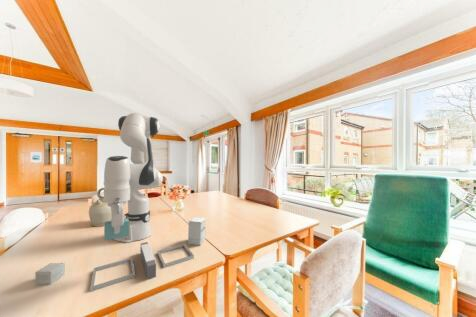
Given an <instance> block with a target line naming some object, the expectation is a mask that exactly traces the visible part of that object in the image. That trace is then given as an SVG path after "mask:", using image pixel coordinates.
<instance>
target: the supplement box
mask: <svg viewBox="0 0 476 317" xmlns="http://www.w3.org/2000/svg"><path fill="white" fill-rule="evenodd" d="M206 219H207V218H206V217H196V216H194V217H192V218H191V219H189V221H188V234H187V236H188V238H187V239H188V240H187V242H188V243H187V244H188V245H195V246H201V245H202V243H204V241H205V240H206Z"/></svg>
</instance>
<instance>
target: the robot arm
mask: <svg viewBox="0 0 476 317" xmlns="http://www.w3.org/2000/svg"><path fill="white" fill-rule="evenodd" d="M117 126H118V129H119V131H120V132H119V133H120V134H119V138H120V140H121V141H122V143H123V144H124V145H126V146H127V147H129V148H131V149H130V150H131V151H130V159H129V157H128V156H124V155H114V156H113V155H112V156H109V157H107V158H106V159H105V160H106V161H105V165H104V171H103V172H104V173H103V175H104V176H103V179H104V180H103V181H104V187H103V188H104V190H103V197H104V202H105V203H108V206H110V207H111V212H112V220H111V225H112V227H114V233H115V234H117V233H120V226H122V225H123V224H124V219H127V218H128V219H129V236H125V237H120V238H115V239H113V240H114V241H117V242H121V243H125V244H127V243H131V242H136V241H142V240H144V239H147V238H149V237H151V236H152V229H151V224H150V222H151V221H150V220H151V219H150V218H151V210H150V198H149V196H147V195H146V194H143V193H142V192H140V190H142V189H143V190H145V189H146V190H147V189H155V188H159V187H160V186H161V185H162V184H163V180H164V176H163V174H162V173H161V172H160V171H159V170H158V169H156V167H155V165H154V164H155V163H154V156H153V148H152V139H151V138H154V136H155V135H157V134H158V133H159V132H160V131H159V130H160V128H161V125H160V122H159V119H158V118H157V117H155V116H146V115H145V116H144V115H140V114H138V113H129V114H127V115H124V116H121V117H119V119H118V123H117ZM130 161H131V163H130ZM125 205H127V210H128V211H127V213H125V208H124V206H125Z"/></svg>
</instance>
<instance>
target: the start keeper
mask: <svg viewBox="0 0 476 317" xmlns="http://www.w3.org/2000/svg"><path fill="white" fill-rule="evenodd" d="M181 248H184V249H185V251H186V252H187V253H188V256H185V257H182V258H178V259H175V260H172V261H168V262H166V263H165V261H164V259H163V256H162V254H164V253H167V252H171V251H174V250H177V249H181ZM156 255H157V256H158V258H159V262H160V263H161V266H162V268H167V267H171V266H174V265H177V264H180V263H183V262H186V261H188V260H193V259H194V258H195V255H194V253H193V251H191V250H190V249H189V247H188V246H187V245H186V244H185V243H183V244H179V245H176V246H170V247H167V248H164V249H163V248H162V249H160V250H157V251H156Z"/></svg>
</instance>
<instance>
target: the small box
mask: <svg viewBox="0 0 476 317" xmlns="http://www.w3.org/2000/svg"><path fill="white" fill-rule="evenodd" d="M65 265H66V264H65V262H52V263H51V262H50V263H49V264H47V265H45V266H44V267H41V268H40V269H39V270H36V271H35V280H34V281H35V285H37V286H40V285H41V286H42V285H43V286H44V285H46V286H47V285H52V284H54V283H55V282H56V281H57V280H60V278H62V277H64V276H65V274H66V273H65V268H66V267H65Z"/></svg>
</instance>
